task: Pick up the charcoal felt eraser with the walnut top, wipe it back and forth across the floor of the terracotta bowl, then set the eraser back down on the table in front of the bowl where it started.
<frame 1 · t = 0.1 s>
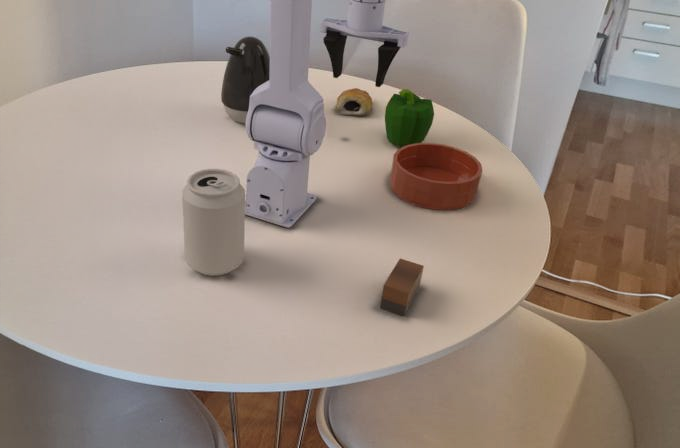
hand: (358, 80, 110), 10 cm above the table, tool pointing down, fingers open, 7 cm apart
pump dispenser: (248, 119, 120), on the table
bowl: (432, 187, 100), on the table
can: (214, 263, 82), on the table
pastry: (353, 109, 125), on the table
eraser: (399, 298, 77), on the table
bell pepper: (403, 142, 114), on the table
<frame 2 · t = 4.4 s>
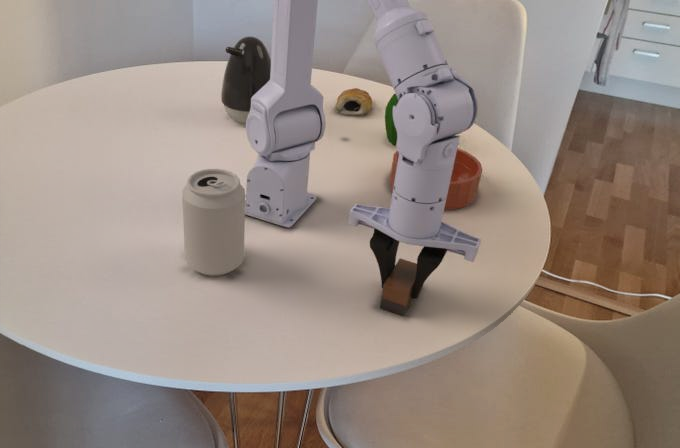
hand: (401, 288, 77), 1 cm above the table, tool pointing down, fingers closed on eraser, 3 cm apart
eraser: (399, 298, 77), on the table, touching gripper
everything else where it was.
when the fingers open (1 cm above the table, at t = 15.6 s): eraser stays where it is, on the table.
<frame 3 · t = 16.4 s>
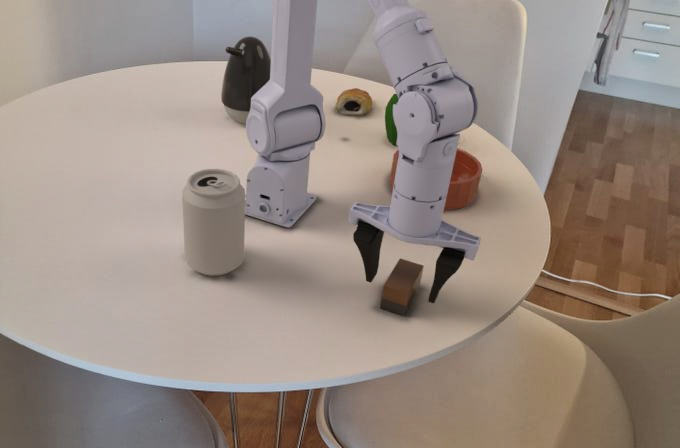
hand: (401, 287, 77), 2 cm above the table, tool pointing down, fingers open, 7 cm apart
eraser: (399, 298, 77), on the table
everything else where it was.
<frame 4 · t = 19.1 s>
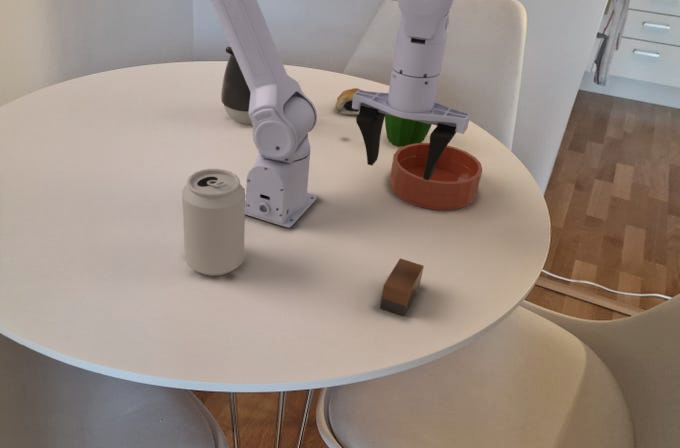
hand: (399, 169, 85), 9 cm above the table, tool pointing down, fingers open, 7 cm apart
nothing on the table moved.
at the end: eraser 0.0 cm from the target spot on the table beside the bowl, on the table; eraser tilted 0°; the gripper is holding nothing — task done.
